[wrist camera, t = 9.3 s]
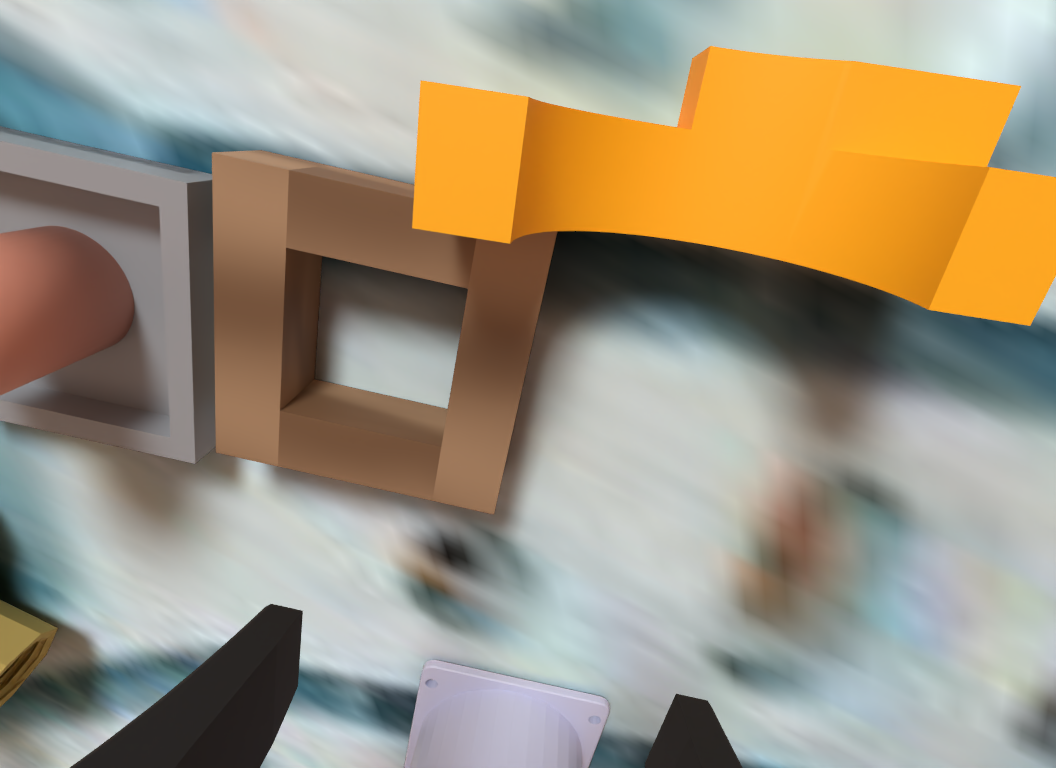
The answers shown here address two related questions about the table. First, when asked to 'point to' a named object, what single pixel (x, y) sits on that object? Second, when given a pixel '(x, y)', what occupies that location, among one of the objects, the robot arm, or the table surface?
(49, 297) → the plug
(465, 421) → the square frame
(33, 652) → the ball valve
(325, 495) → the table surface
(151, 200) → the tray
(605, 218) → the pipe clamp
